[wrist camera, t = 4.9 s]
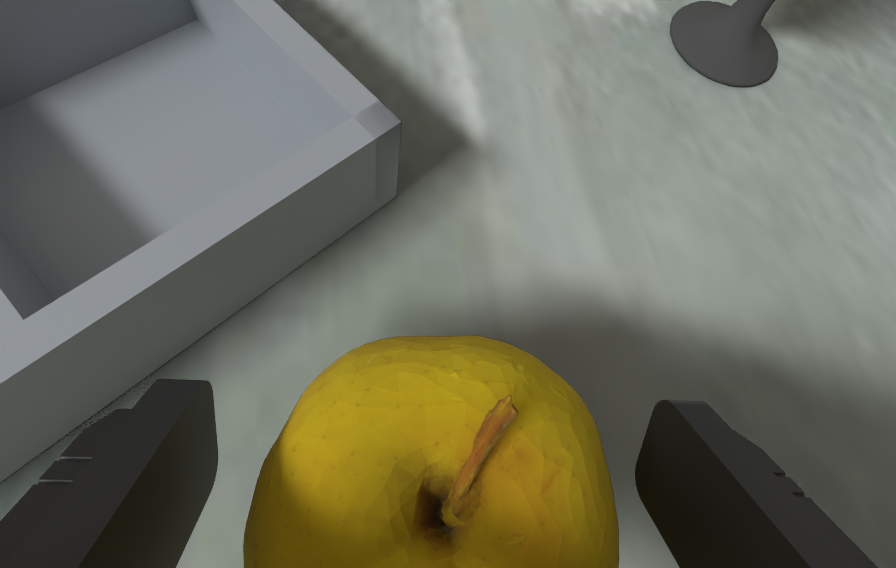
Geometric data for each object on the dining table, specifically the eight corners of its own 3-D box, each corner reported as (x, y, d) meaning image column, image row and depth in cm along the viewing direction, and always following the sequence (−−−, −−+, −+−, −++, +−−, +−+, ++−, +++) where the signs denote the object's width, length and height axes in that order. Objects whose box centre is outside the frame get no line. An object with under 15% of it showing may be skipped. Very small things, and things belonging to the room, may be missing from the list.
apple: (492, 353, 15) (609, 218, 7) (572, 591, 12) (851, 737, 5) (270, 413, 13) (139, 318, 6) (318, 694, 11) (205, 1104, 4)
